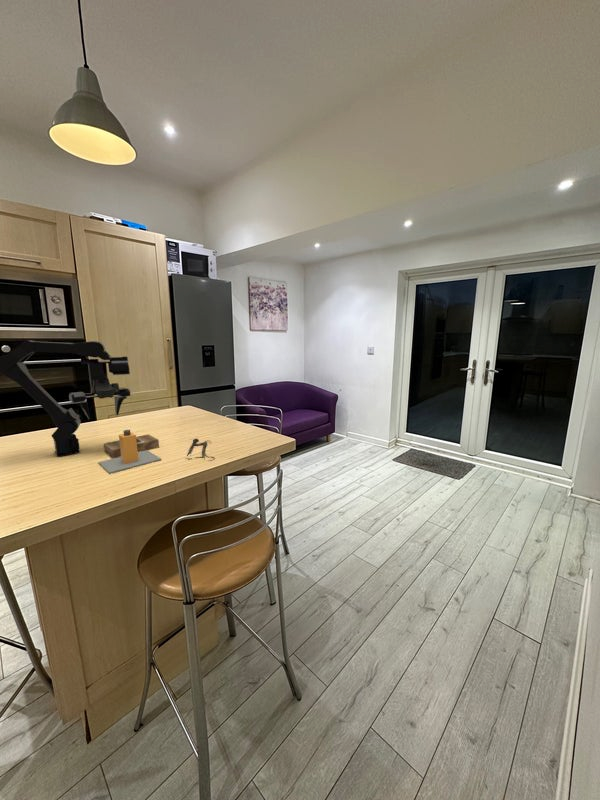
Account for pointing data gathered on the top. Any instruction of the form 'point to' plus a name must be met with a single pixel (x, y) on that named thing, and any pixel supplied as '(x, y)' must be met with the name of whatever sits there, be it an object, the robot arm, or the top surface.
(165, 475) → the top surface
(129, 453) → the plug
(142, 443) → the socket block
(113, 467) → the mat
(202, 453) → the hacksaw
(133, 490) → the top surface
